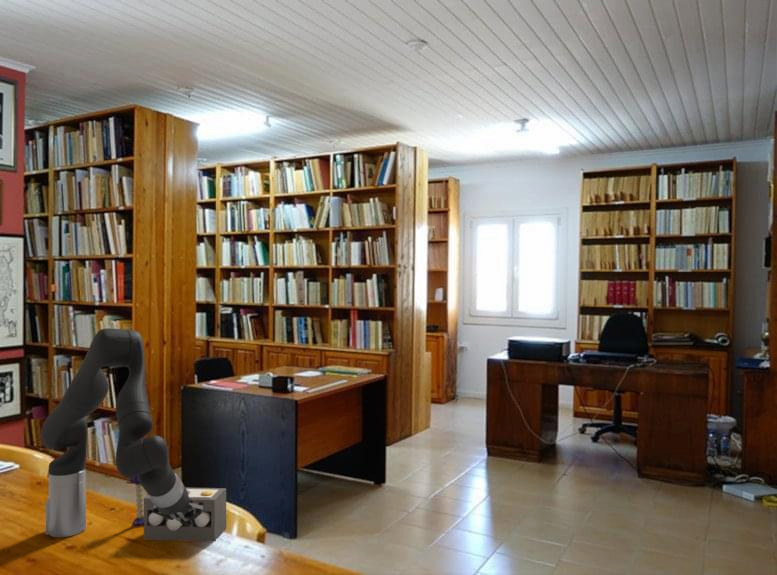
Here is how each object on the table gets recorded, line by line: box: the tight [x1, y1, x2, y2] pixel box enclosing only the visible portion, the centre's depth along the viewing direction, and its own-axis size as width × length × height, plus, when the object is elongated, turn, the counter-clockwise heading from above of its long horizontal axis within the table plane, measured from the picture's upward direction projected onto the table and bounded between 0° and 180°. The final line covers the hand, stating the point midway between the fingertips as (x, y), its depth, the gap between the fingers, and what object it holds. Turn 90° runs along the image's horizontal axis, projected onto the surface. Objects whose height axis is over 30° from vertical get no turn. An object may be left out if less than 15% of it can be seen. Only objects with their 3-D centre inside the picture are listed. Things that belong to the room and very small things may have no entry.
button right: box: [195, 511, 211, 527], centre depth 164 cm, size 4×6×4 cm, turn 176°
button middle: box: [167, 518, 183, 531], centre depth 162 cm, size 4×6×4 cm, turn 176°
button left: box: [149, 513, 166, 526], centre depth 165 cm, size 4×6×4 cm, turn 176°
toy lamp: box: [129, 476, 144, 527], centre depth 173 cm, size 5×5×17 cm
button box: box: [143, 487, 227, 542], centre depth 166 cm, size 20×9×12 cm, turn 86°
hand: (188, 522), depth 152 cm, fingers closed
